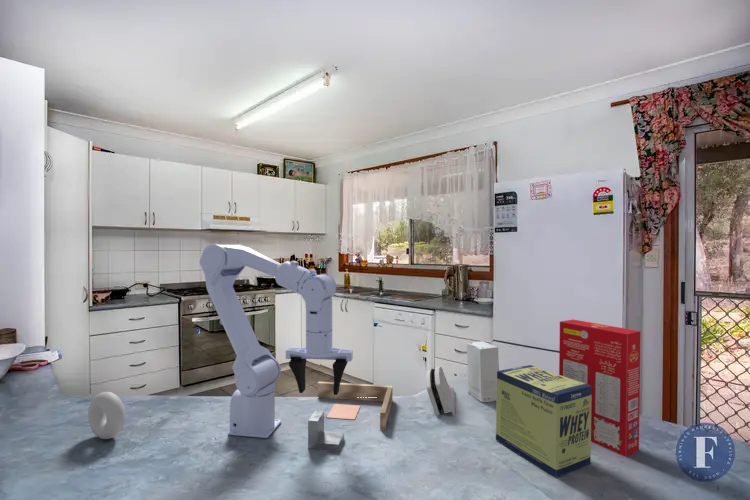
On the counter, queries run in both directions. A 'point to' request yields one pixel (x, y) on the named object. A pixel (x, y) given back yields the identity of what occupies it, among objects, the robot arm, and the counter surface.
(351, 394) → the wooden corner frame
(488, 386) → the skincare box
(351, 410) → the flat panel
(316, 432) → the bracket
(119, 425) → the donut
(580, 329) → the food packaging
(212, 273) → the robot arm
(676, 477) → the counter surface
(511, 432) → the protein box
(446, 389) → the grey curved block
